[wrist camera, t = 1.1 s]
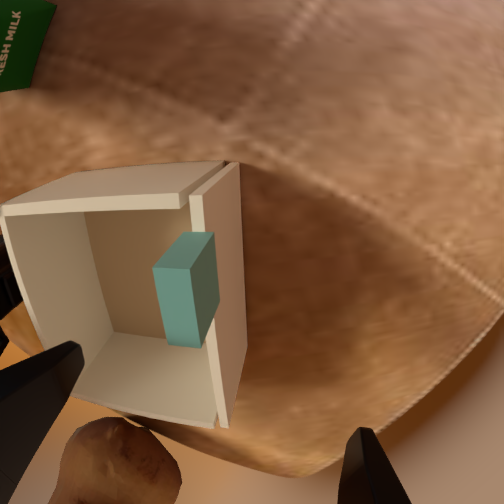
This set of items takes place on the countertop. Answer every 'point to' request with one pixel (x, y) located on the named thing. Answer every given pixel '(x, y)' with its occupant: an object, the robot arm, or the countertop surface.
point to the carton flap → (209, 285)
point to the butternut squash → (116, 466)
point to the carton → (112, 283)
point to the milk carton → (21, 40)
